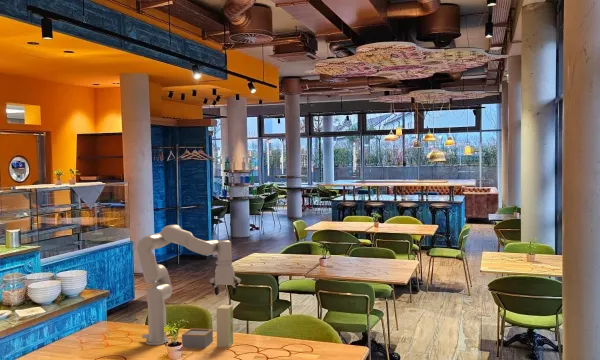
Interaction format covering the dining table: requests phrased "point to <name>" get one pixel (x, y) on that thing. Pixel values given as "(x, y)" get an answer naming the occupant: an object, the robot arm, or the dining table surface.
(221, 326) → the toy refrigerator
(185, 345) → the grey open box
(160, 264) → the robot arm
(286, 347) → the dining table surface
